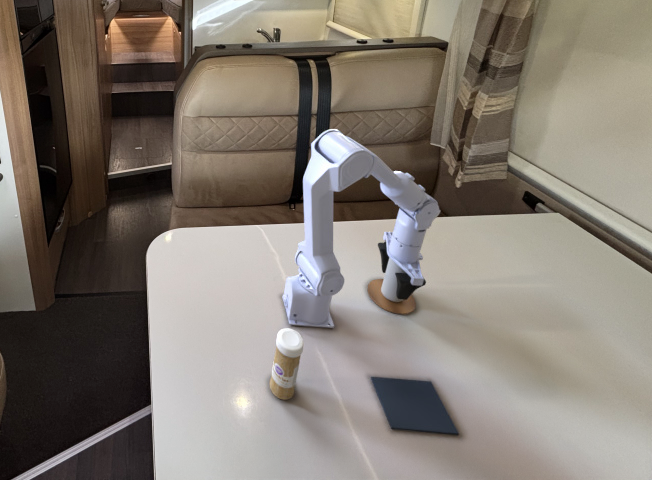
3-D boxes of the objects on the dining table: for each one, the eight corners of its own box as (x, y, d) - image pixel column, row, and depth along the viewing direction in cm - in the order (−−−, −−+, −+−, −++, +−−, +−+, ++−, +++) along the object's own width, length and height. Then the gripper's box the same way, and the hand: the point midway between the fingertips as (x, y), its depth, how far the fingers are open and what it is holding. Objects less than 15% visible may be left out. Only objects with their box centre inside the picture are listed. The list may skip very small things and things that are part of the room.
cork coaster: (377, 313, 96) (377, 311, 96) (360, 278, 105) (361, 277, 105) (424, 316, 95) (424, 314, 95) (403, 281, 104) (403, 280, 104)
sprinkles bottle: (265, 390, 80) (272, 339, 75) (275, 371, 83) (283, 322, 78) (288, 406, 77) (298, 355, 72) (298, 387, 81) (308, 336, 76)
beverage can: (406, 305, 97) (419, 264, 93) (384, 301, 98) (395, 261, 93) (399, 288, 101) (411, 249, 97) (377, 285, 102) (388, 246, 98)
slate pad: (391, 429, 74) (391, 427, 74) (370, 378, 82) (371, 376, 82) (458, 435, 73) (459, 433, 73) (430, 383, 81) (431, 381, 81)
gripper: (445, 263, 86) (428, 312, 91) (410, 217, 100) (397, 262, 105) (408, 261, 87) (394, 310, 92) (379, 216, 100) (368, 260, 105)
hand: (394, 284), depth 98 cm, fingers open, 7 cm apart
